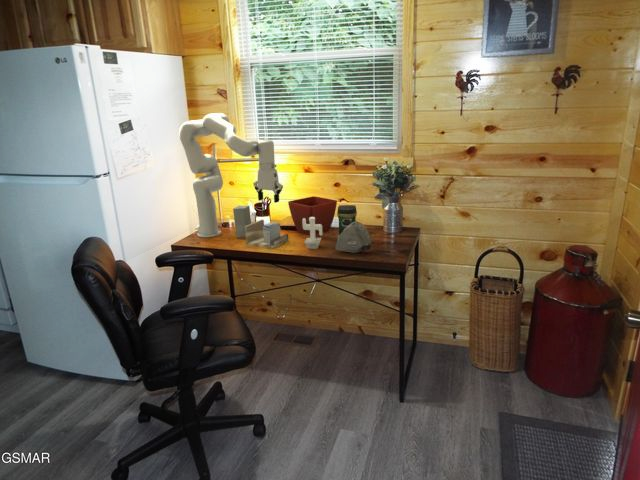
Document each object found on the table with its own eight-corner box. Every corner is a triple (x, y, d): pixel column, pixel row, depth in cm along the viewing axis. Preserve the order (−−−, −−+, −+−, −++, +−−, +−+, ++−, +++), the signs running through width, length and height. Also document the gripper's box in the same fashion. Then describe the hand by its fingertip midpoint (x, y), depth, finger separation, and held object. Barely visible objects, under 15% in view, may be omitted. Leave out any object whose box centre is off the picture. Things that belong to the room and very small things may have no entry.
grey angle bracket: (246, 244, 233) (244, 226, 230) (263, 237, 245) (261, 219, 242) (273, 248, 225) (271, 229, 222) (288, 240, 237) (288, 222, 234)
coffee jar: (358, 239, 235) (357, 203, 230) (356, 244, 228) (356, 207, 222) (339, 239, 237) (338, 203, 232) (336, 243, 230) (336, 207, 224)
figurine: (322, 249, 221) (321, 219, 217) (302, 249, 223) (301, 219, 218) (323, 245, 228) (322, 215, 224) (304, 245, 229) (303, 215, 225)
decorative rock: (372, 251, 217) (372, 220, 213) (369, 256, 211) (369, 224, 207) (338, 249, 222) (337, 218, 217) (334, 253, 216) (333, 222, 211)
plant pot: (314, 224, 265) (313, 195, 260) (338, 230, 251) (337, 200, 246) (288, 231, 253) (287, 201, 248) (312, 238, 239) (310, 206, 234)
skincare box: (247, 238, 244) (245, 208, 239) (234, 237, 245) (232, 208, 240) (253, 233, 252) (250, 204, 247) (240, 233, 253) (238, 204, 248)
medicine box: (274, 237, 237) (273, 221, 235) (281, 239, 235) (280, 222, 232) (263, 241, 231) (262, 225, 229) (270, 243, 229) (269, 226, 226)
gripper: (286, 166, 223) (287, 201, 229) (257, 164, 232) (259, 197, 237) (276, 168, 217) (278, 204, 222) (247, 166, 226) (250, 200, 231)
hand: (268, 201), depth 230 cm, fingers open, 9 cm apart
